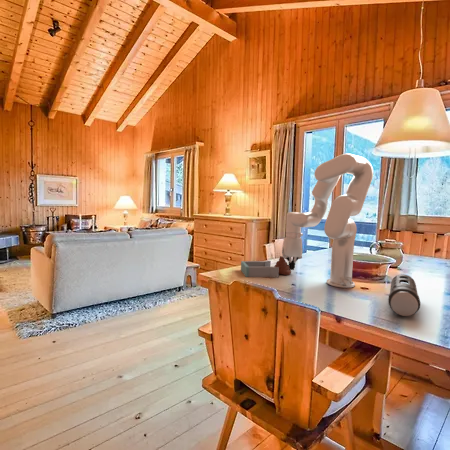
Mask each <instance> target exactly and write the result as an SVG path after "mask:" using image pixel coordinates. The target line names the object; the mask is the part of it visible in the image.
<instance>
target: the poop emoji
mask: <svg viewBox="0 0 450 450" xmlns="http://www.w3.org/2000/svg"><path fill="white" fill-rule="evenodd" d="M273 267H279V274H278V275H283V276H290V275H291V274H292V270H290V269H289V264H288V261H286V259H284V258H283V257H282V256H279V258H278V261H276V262H275V265H274V266H273Z"/></svg>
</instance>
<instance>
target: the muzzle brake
mask: <svg viewBox="0 0 450 450" xmlns="http://www.w3.org/2000/svg"><path fill="white" fill-rule="evenodd" d="M390 282H391V283H390V289H389V290H390V291H389V294H388V299H387V300H388V305H389V308H390V309H391V311H393V312H394V313H395V314H397V315H399V316H401V317H411V316H413V315H415V314H417V313H418V312H419V310H420V308H421V300H420V296H419V293H418V289H417V285H416V281H415V280H414V279H413V278H412V277H411V276H410V275H408V274H402V273H401V274H397V275H395V276H394V277H393V278H392V279H391V281H390Z"/></svg>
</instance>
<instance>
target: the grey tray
mask: <svg viewBox="0 0 450 450" xmlns="http://www.w3.org/2000/svg"><path fill="white" fill-rule="evenodd" d="M271 265H272V264H271V260H261V261H260V260H241V261H240V271H241V272H242V274H243V275H244V277H245V278H279V275H280V274H279V267H274V266H271Z"/></svg>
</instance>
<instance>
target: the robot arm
mask: <svg viewBox="0 0 450 450" xmlns="http://www.w3.org/2000/svg"><path fill="white" fill-rule="evenodd" d="M346 174H348V175H352V176H353V177H352V179H351V180H350V181H349V184H348V186H347V188H346V189H347V190H346V192H345V194H342V195H339V196H337V197H335V199H334V200H333V201H332V202H331V206H330V208H329V211H328V214H327V217H326V221H325V223H324V228H323V229H324V234H325V235H326V236H327V237H328V238H329V239H331V240H332V245H331V255H330V256H331V259H330V261H331V262H330V273H329V274H330V275H329V278H328V279H326V284H327V285H330V286H332V287H336V288H342V289H343V288H344V289H346V288H347V289H351V288H354V287H356V283H355V281H353V265H354V264H353V262H354V251H355V250H354V249H355V240H356V236H357V231H358V230H357V229H358V227H357V224H356V222H355V221H354V220H353V219H352V218H350V217H354V216H358V215H359V214H360V213H361V212H362V209H363V206H364V204H365V201H366V198H367V194H368V192H369V189H370V187H371V184H372V181H373V178H374V168H373V166H372V164H371V162H370V161H369V160H368V159H367V158H365V157H363V156H360V155H356V154H352V153H343V154H340V155H338V156H336V157H334V158H332V159H329V160H327V161H324V162H322V163H321V164H319V165H317V167H316V168H315V170H314V178H315V179H316V180H317V182H315V185H314V187H313V189H312V191H311V195H312V196H313V198H314V204H313V206H312V209H311V211H310V212H296V211H289V212H287V214H286V223H285V225H286V227H285V237H283V243H282V248H281V254H282V256H281V257H283V258H284V259H285V260H287V262H288V265H289V269H290V270H291V271H294V270H295V267H296V262H297V261H298V260H300V259H303V240H302V238H301V237H303V236H304V234H303V232H301V231H302V230H301V229H302V228H311V227H312V228H314V227H316V226H318V225H319V224H320V222H321V221H322V219H323V218H324V216H325V214H326V212H327V209H328V200H329V198H330V197H331V195H332V193H333V191H334V189H335V187H336V186H337V185H338V182H339V180H340V178H341V176H343V175H346Z"/></svg>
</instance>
